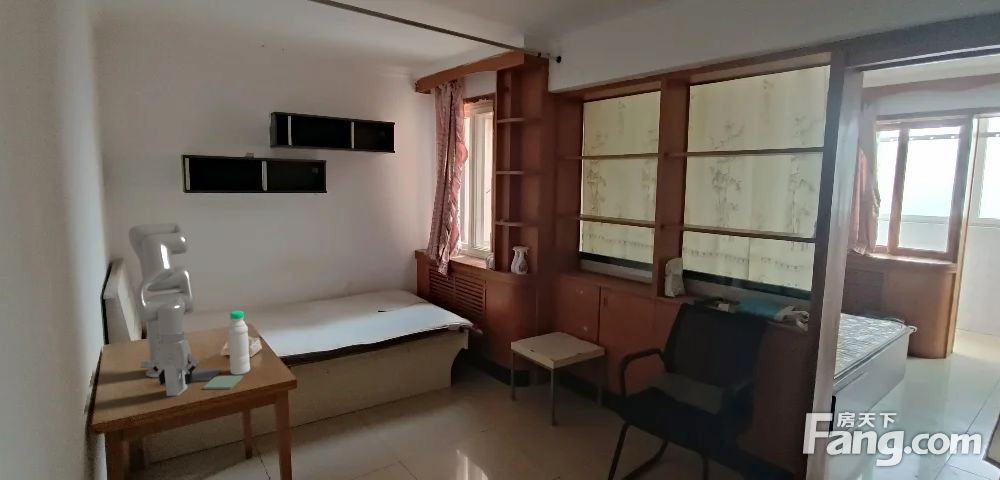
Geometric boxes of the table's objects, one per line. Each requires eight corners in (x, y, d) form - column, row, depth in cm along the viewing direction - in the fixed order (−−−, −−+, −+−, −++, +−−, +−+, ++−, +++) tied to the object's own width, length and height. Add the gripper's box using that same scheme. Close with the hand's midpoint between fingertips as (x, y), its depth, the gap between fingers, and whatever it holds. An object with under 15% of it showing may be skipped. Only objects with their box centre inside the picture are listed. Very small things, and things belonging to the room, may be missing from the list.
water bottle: (254, 370, 196) (250, 311, 192) (238, 376, 190) (234, 315, 186) (242, 366, 199) (238, 308, 195) (226, 373, 193) (222, 313, 189)
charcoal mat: (182, 381, 184) (182, 379, 184) (196, 370, 194) (196, 368, 194) (209, 381, 185) (209, 379, 185) (222, 370, 195) (222, 368, 195)
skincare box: (175, 388, 178) (173, 357, 177) (187, 388, 179) (185, 357, 177) (165, 396, 172) (163, 364, 171) (178, 396, 173) (175, 364, 171)
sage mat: (202, 389, 178) (202, 387, 178) (216, 377, 188) (216, 375, 188) (230, 388, 179) (230, 386, 179) (242, 377, 189) (242, 375, 189)
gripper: (140, 341, 168) (144, 388, 171) (192, 340, 170) (195, 387, 172) (153, 333, 176) (157, 379, 178) (203, 333, 177) (206, 378, 180)
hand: (176, 383), depth 175 cm, fingers open, 8 cm apart
